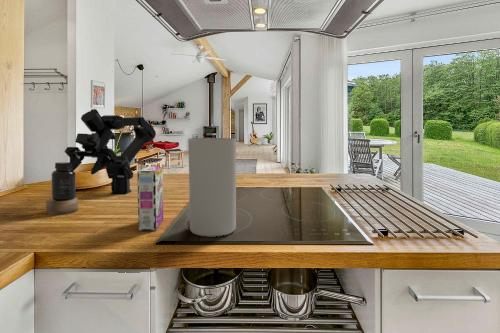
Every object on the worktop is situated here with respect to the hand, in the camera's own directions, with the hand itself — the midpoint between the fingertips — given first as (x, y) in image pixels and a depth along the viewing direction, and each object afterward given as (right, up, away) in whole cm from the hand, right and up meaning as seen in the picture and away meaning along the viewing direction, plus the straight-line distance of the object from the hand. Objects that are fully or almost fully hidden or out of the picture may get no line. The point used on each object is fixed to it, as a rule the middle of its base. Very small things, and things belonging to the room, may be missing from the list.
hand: (80, 173), depth 111 cm
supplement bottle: (-2, -9, -7) cm, 11 cm away
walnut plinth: (-2, -13, -7) cm, 15 cm away
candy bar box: (+32, -15, -21) cm, 41 cm away
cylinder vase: (+50, -15, -25) cm, 58 cm away
